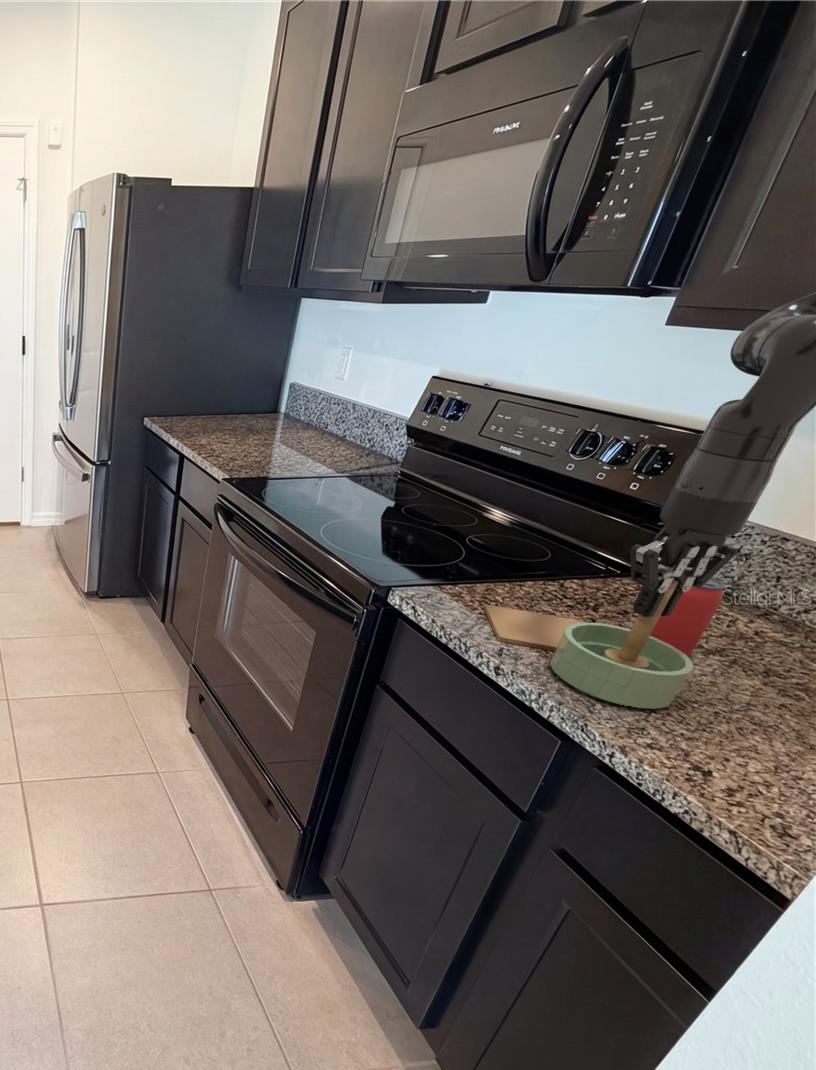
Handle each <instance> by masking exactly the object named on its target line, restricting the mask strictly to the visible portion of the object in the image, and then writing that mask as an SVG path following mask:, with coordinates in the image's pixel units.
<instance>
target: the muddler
mask: <svg viewBox="0 0 816 1070" xmlns="http://www.w3.org/2000/svg"><path fill="white" fill-rule="evenodd" d="M662 577H663V576H658V581H659V582H660V580H661V579H662ZM677 584H678V582H677V581H675V580H673V581H672V582H671V584H670V586H669V587H668V589H667V590H666V591H665V592H664V593H665V595H664V597H663V599H662V600H661V602H660V604H659V606H658V608H657V610H656V612H655V613H654V615H653V616H652V617H644V616H642V615H640V614H638V615H637V617H636V619H635V621H634V623H633V625H632V627H631V629H630V632H629V634H628V636H627V638H626V640H625V642H624V644H623V646H622V648H621V649H607V650H605V652H604V654H603V656H602V657H604V658H607V659H609V660H612V661H615V662H617V663H621V664H624V665H628V666H631V667H635V668H640V669H645V670H647V668H648V666H649V662H648V661H647V660H646V659H645V658H643V657H641V656H639V654H640V653H641V651H642V649H643V647H644V645H645V643H646V641H647V640H648V638H649V636H650V634H651V632H652V630H653V629H654V627H655V625H656V623H657V621H658V619H659V618H660V616H661V614H662V612H663V610H664V608H665V606H666V605H667V603H668V601H669V599H670V597H671V595H672V594H673V592H674V590H675V588H676V586H677Z"/></svg>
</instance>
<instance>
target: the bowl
mask: <svg viewBox="0 0 816 1070" xmlns="http://www.w3.org/2000/svg"><path fill="white" fill-rule="evenodd" d="M630 630H631V629H630V628H626V627H622V626H619V625H613V624H606V623H600V622H588V621H587V622H585V621H584V622H583V623H575V624H571V625H569V626H567V627H566V628H565V630H564V632H563V634H562V636H561V639H560V641H559V643H558V645H557V647H556V649H555V651H553V653H552V656H551V658H550V662H549V665H550V668H551V670H552V671H553V673H555V675H557V676H558V677H559V678H560V679H561V680H562V681H564V682H566V683H567V684H568V685H569V686H572V687H573V688H574V689H576V690H578V691H580V692H582V693H584V694H586V695H589V696H591V697H593V698H595V697H596V698H595V699H598V698H599V699H598V700H601V701H604V702H608V703H610V702H611V704H614V703H615V705H618V704H619V705H618V706H622V705H624V706H623V707H628V706H631V707H630V708H635V707H636V708H637V709H648V710H650V709H651V710H656V709H657V710H658V709H663V708H668V707H669V706H671V705H672V704H673V703H674V702H675V701H676V699H677V697H678V696H679V694H680V692H681V691H682V689H683V688H684V685H686V683H687V681H688V679H689V678H690V675H691V674H692V672H693V671H694V662H693V661H692V660H691V659H690V658H689V656H686V654H684V653H683V652H681V651H680V650H678V649H677V648H675V647H673V646H672V645H670V644H667V643H665V642H663V641H661V640H659V639H657V638H655V637H652V636H649V638H648V640H647V641H646V643H645V645H644V647H643V649H642V651H641V653H640V654H639V656H641V657H643V658H645V659H646V660H647V661H648V662H649V666H648V668H647V670H645V669H640V668H635V667H631V666H628V665H624V664H621V663H617V662H615V661H612V660H609V659H607V658H604V657H602V656H603V654H604V652H605V650H607V649H621V648H622V646H623V644H624V642H625V640H626V638H627V636H628V634H629V632H630Z"/></svg>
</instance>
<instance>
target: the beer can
mask: <svg viewBox="0 0 816 1070" xmlns="http://www.w3.org/2000/svg"><path fill="white" fill-rule="evenodd" d="M698 577H699V576H698ZM725 586H726V585H725V584H724V582H722V581H720V580H719V579H717V578H714V577H712V578H711V579H709V580H708V581H707V582H706V583H705V584H704V585H703V586H701V587H696V586H692V587H691V589H690V590H689V591H687V592H683V594H682V595H681V597H680V599H679V601H678V603H677V604H676V606H675V608H674V609H673V611H672V613H671V614H670V615H669V616H660V618H659V619H658V621H657V623H656V625H655V627H654V629H653V630H652V632H651V634H650V636H652V637H655V638H657V639H659V640H661V641H663V642H665V643H667V644H670V645H672V646H673V647H675V648H677V649H678V650H680V651H681V652H683V653H684V654H686V656H687V657H689V656H691V655H692V653H693V652H694V649H696V646H697V645H698V644H699V641H700V639H701V638H702V636H703V634H704V633H705V631H706V629H707V627H708V626H709V624H710V622H711V620H712V619H713V617H714V616H715V614H716V612H717V610H718V609H719V607H720V605H721V604H722V601H723V597H724V589H725Z"/></svg>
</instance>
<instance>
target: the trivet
mask: <svg viewBox="0 0 816 1070" xmlns="http://www.w3.org/2000/svg"><path fill="white" fill-rule="evenodd" d="M482 609H483V611H484V613H485V616H486V618H487V620H488V623H489V624H490V627H491V630H492V632H493V634H494V636H495V637H496V639H497V641H498V642H501V643H508V644H513V645H518V646H522V647H523V646H524V647H528V648H534V649H538V650H539V649H540V650H545V651H551V652H554V651H555V649H556V647H557V645H558V643H559V641H560V639H561V636H562V634H563V632H564V630H565V628H566V627H567V626H569V625H571V624H575V623H583V622H585V621H584V620H580V619H574V618H568V617H562V616H557V615H550V614H545V613H540V612H533V611H527V610H522V609H517V608H510V607H503V606H497V605H492V604H487V603H484V604H483V606H482Z"/></svg>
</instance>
